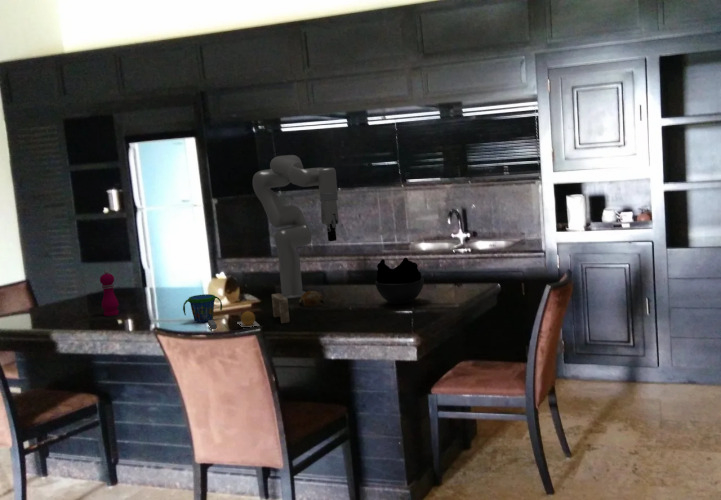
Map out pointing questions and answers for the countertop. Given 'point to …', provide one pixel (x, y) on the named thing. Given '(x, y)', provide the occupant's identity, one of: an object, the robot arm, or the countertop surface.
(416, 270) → the bowl of black rocks
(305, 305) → the bread roll
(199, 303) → the snack cup
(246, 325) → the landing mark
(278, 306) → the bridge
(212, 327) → the stopper
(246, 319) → the ball
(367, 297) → the countertop surface
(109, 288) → the pepper mill
